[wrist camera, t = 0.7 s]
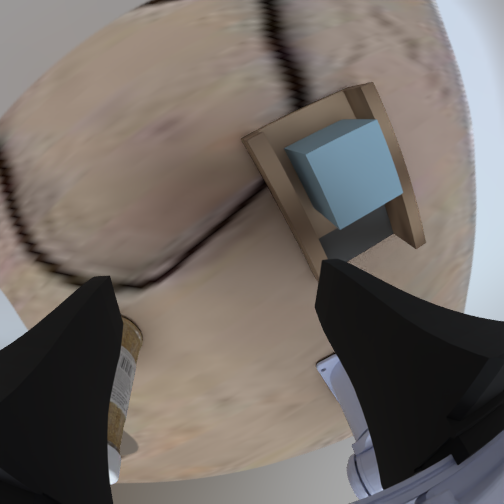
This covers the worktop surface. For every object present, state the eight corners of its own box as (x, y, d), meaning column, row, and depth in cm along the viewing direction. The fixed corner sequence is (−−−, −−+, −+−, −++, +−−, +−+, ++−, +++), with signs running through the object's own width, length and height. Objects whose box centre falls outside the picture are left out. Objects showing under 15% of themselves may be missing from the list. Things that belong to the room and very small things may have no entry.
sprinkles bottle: (86, 321, 22) (31, 451, 10) (126, 306, 22) (79, 454, 9) (114, 357, 24) (82, 485, 11) (153, 346, 24) (133, 487, 11)
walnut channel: (401, 226, 22) (425, 242, 19) (315, 278, 23) (331, 301, 20) (348, 87, 17) (373, 82, 14) (240, 138, 18) (246, 140, 15)
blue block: (367, 177, 19) (403, 192, 15) (313, 207, 19) (339, 230, 15) (342, 119, 17) (377, 119, 13) (283, 148, 17) (305, 154, 13)
